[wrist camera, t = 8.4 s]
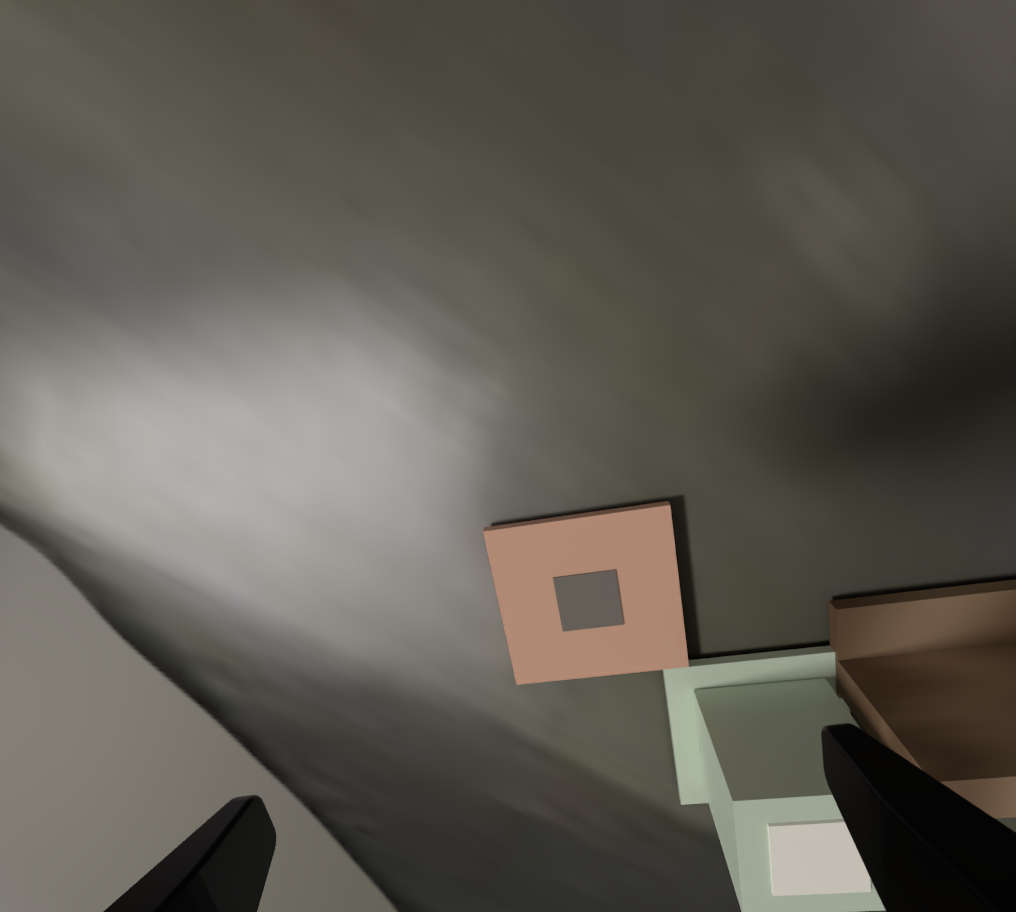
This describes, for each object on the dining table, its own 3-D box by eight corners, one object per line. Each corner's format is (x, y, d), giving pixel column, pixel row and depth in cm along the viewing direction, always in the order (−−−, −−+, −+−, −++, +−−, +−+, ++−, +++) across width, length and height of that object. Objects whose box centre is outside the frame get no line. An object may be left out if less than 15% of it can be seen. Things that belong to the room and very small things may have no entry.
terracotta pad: (668, 501, 20) (670, 505, 20) (686, 660, 22) (689, 667, 21) (484, 527, 21) (482, 532, 20) (517, 678, 23) (516, 685, 22)
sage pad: (843, 643, 21) (849, 651, 21) (847, 784, 23) (852, 793, 23) (661, 663, 22) (663, 670, 22) (679, 796, 24) (681, 806, 23)
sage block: (824, 678, 21) (905, 793, 16) (827, 780, 22) (903, 915, 18) (693, 690, 22) (733, 804, 17) (704, 788, 23) (743, 921, 18)
